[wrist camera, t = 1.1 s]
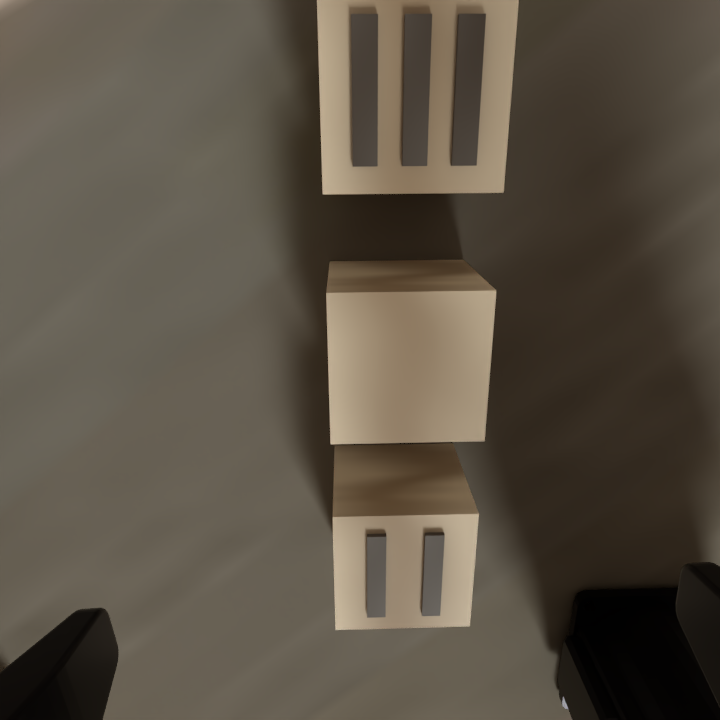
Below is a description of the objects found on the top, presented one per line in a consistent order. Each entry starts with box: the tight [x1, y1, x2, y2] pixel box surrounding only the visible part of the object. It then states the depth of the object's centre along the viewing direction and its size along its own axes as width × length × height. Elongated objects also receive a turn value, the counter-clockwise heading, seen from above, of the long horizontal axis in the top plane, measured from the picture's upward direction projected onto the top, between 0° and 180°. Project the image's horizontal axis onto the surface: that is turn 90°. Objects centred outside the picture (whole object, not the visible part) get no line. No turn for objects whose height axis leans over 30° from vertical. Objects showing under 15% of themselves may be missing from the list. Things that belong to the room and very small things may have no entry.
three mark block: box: [317, 0, 519, 194], centre depth 15 cm, size 4×4×5 cm
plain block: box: [326, 260, 496, 444], centre depth 18 cm, size 4×4×4 cm
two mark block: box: [333, 443, 479, 630], centre depth 20 cm, size 4×4×5 cm
